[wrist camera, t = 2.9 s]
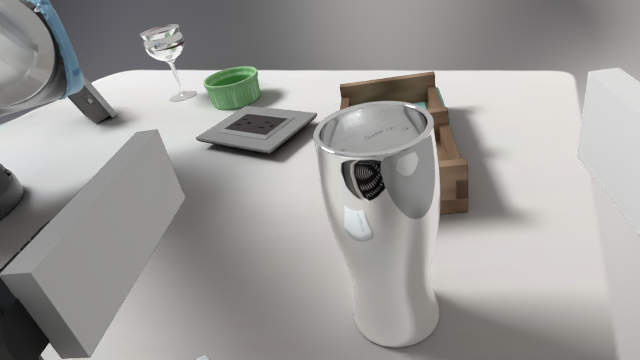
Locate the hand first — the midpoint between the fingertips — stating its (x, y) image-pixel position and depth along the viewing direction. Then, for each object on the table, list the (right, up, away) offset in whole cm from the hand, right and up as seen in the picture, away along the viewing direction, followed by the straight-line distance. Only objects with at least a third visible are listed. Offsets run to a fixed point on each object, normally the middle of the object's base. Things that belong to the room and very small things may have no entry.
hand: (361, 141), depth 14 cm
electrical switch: (-42, +10, +67) cm, 80 cm away
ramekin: (-15, +12, +62) cm, 65 cm away
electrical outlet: (-10, +4, +48) cm, 49 cm away
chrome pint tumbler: (+4, -11, +18) cm, 22 cm away
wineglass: (-26, +14, +69) cm, 75 cm away
